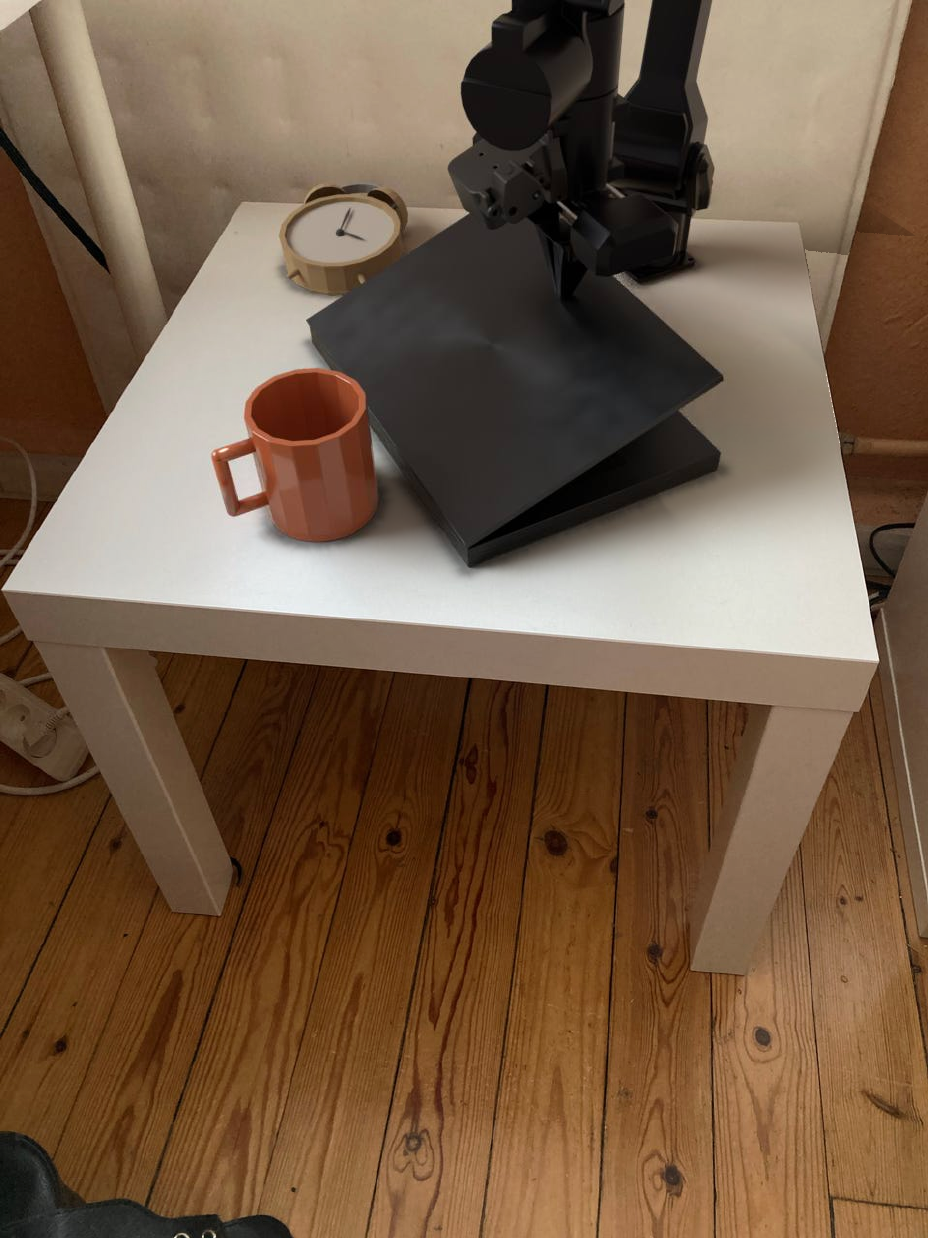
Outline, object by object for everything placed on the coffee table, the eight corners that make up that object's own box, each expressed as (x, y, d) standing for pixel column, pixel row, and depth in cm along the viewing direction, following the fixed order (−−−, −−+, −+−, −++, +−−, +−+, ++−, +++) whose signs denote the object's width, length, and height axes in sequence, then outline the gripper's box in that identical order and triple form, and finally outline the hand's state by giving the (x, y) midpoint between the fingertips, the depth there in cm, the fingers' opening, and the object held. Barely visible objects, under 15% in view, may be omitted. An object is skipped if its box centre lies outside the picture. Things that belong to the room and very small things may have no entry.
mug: (353, 452, 79) (338, 355, 72) (396, 518, 75) (385, 420, 68) (216, 499, 76) (187, 403, 69) (252, 571, 72) (225, 475, 65)
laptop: (524, 277, 94) (525, 258, 93) (717, 470, 77) (722, 451, 75) (312, 343, 89) (309, 324, 87) (468, 567, 71) (467, 549, 70)
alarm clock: (262, 263, 92) (306, 155, 99) (274, 305, 96) (315, 199, 103) (383, 273, 90) (419, 163, 97) (390, 315, 94) (424, 207, 101)
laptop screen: (514, 191, 87) (512, 184, 87) (724, 381, 70) (723, 374, 69) (309, 325, 87) (305, 319, 87) (467, 550, 70) (464, 544, 69)
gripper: (400, 57, 69) (416, 265, 81) (535, 174, 58) (530, 394, 70) (544, 22, 72) (538, 228, 84) (697, 128, 61) (666, 347, 73)
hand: (563, 294), depth 78 cm, fingers closed, pressing on laptop screen
